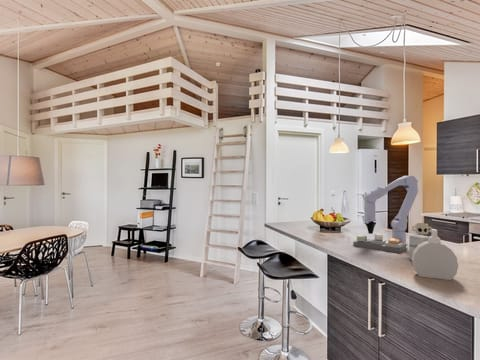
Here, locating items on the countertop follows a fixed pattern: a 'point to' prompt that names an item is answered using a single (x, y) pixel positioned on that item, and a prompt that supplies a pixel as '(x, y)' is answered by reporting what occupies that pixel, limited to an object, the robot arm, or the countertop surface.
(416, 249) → the soap bottle
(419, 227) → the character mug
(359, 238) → the pale green block
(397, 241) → the brown rectangular block
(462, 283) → the countertop surface
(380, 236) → the off-white button
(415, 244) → the supplement box
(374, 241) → the switch panel
